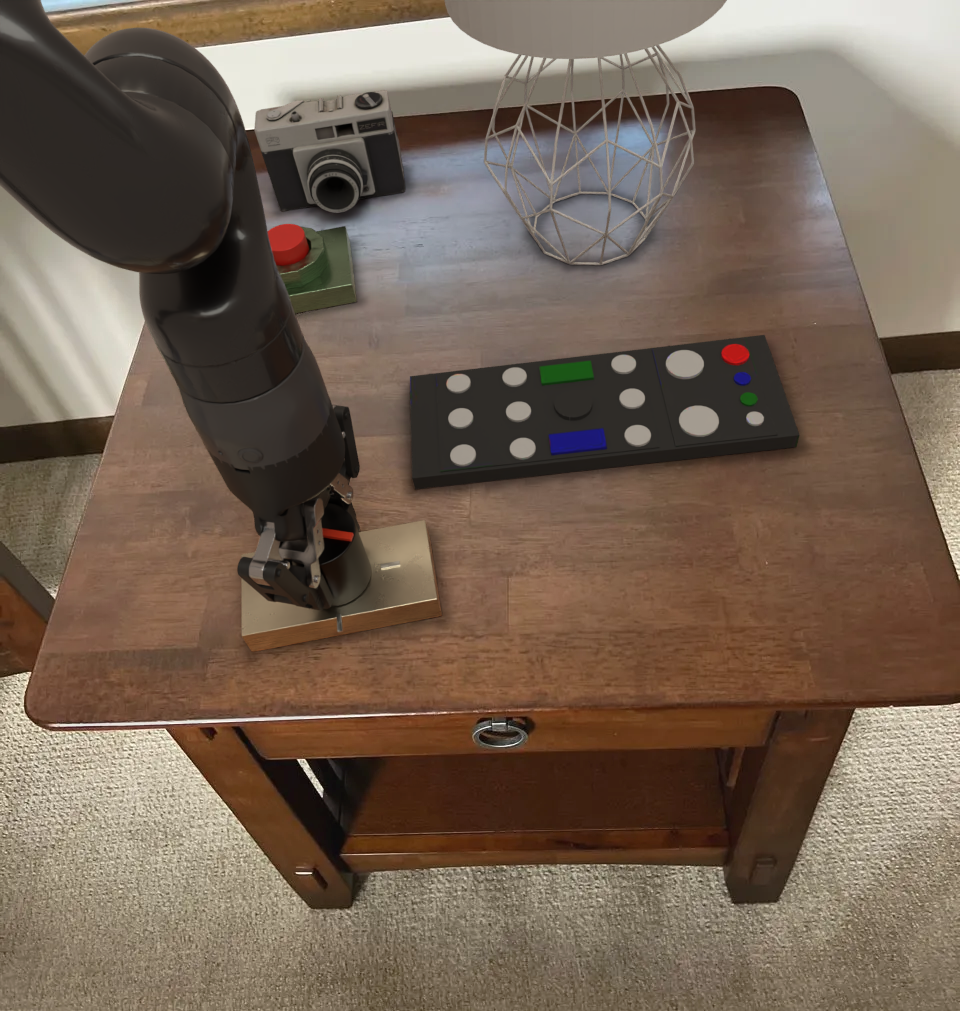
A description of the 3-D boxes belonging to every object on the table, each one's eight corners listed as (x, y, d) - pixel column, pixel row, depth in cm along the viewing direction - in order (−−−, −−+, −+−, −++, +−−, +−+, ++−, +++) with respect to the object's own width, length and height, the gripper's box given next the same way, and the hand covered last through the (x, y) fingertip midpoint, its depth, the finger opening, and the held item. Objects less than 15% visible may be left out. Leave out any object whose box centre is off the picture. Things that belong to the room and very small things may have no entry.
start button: (268, 269, 86) (262, 254, 85) (267, 243, 88) (261, 227, 87) (310, 261, 86) (305, 246, 85) (308, 235, 88) (303, 220, 87)
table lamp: (457, 302, 86) (376, -218, 54) (493, 159, 99) (444, -330, 66) (702, 310, 82) (772, -245, 50) (706, 161, 95) (764, -359, 63)
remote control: (796, 447, 72) (800, 430, 71) (415, 489, 74) (410, 474, 72) (762, 347, 79) (765, 330, 77) (412, 387, 80) (408, 371, 79)
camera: (269, 231, 95) (240, 142, 87) (283, 181, 101) (257, 93, 93) (401, 222, 94) (384, 131, 86) (408, 172, 99) (392, 82, 92)
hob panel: (252, 667, 66) (240, 650, 64) (251, 558, 71) (240, 540, 69) (444, 630, 66) (439, 612, 64) (428, 525, 71) (423, 505, 69)
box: (243, 323, 87) (229, 291, 84) (243, 263, 93) (230, 230, 90) (357, 302, 88) (347, 269, 84) (350, 243, 93) (341, 210, 90)
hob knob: (290, 600, 66) (267, 557, 61) (314, 541, 68) (294, 495, 64) (358, 612, 65) (340, 568, 60) (380, 550, 67) (364, 504, 63)
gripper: (251, 316, 57) (318, 481, 70) (149, 503, 49) (246, 647, 63) (365, 328, 55) (410, 494, 69) (278, 524, 47) (349, 667, 61)
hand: (332, 567), depth 66 cm, fingers closed on hob knob, 5 cm apart
